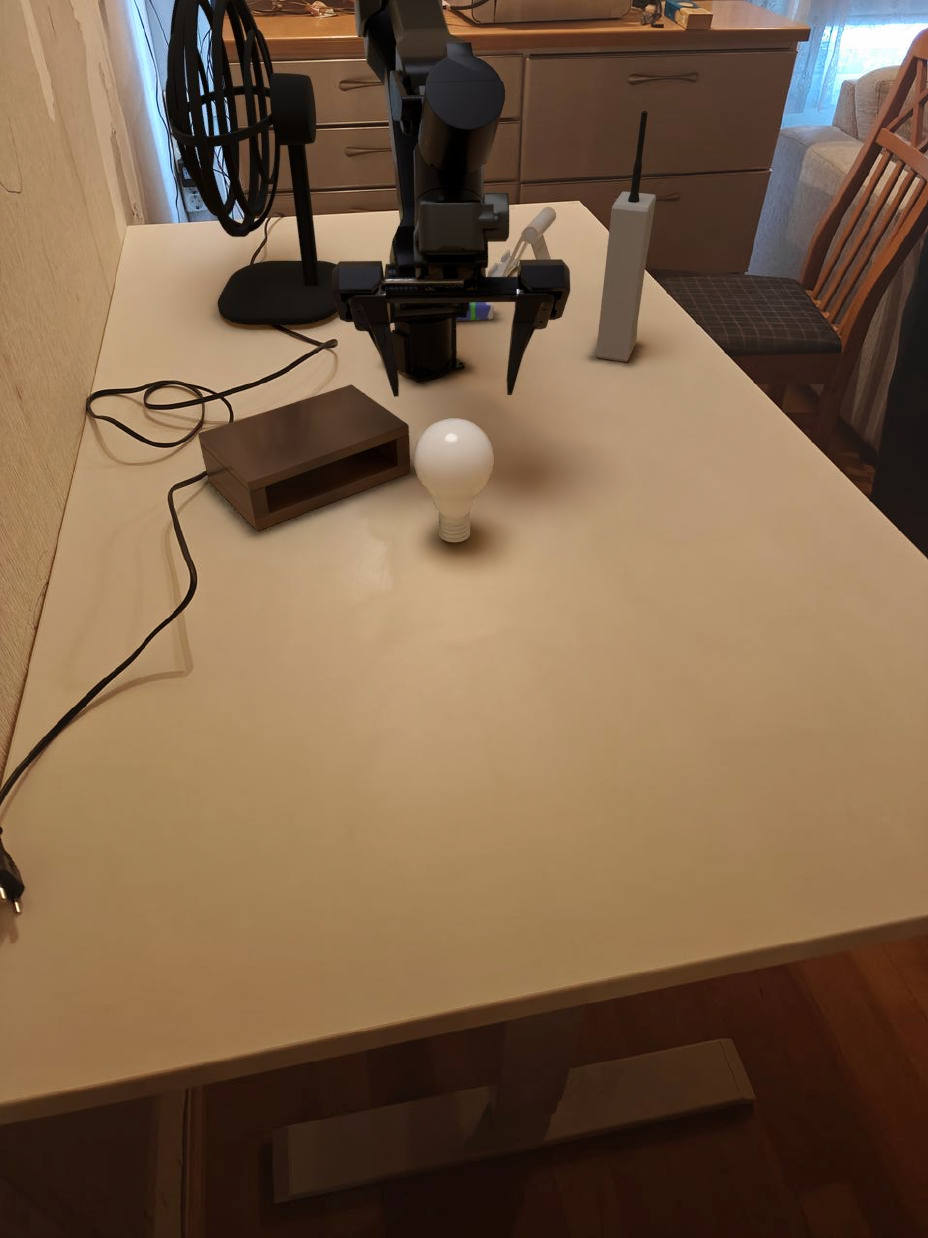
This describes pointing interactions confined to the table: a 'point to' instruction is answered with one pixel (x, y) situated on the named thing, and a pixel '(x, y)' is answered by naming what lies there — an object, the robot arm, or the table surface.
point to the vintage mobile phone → (625, 265)
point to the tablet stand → (529, 236)
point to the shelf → (305, 455)
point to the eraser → (479, 311)
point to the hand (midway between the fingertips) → (453, 394)
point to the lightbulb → (454, 471)
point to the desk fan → (269, 285)
